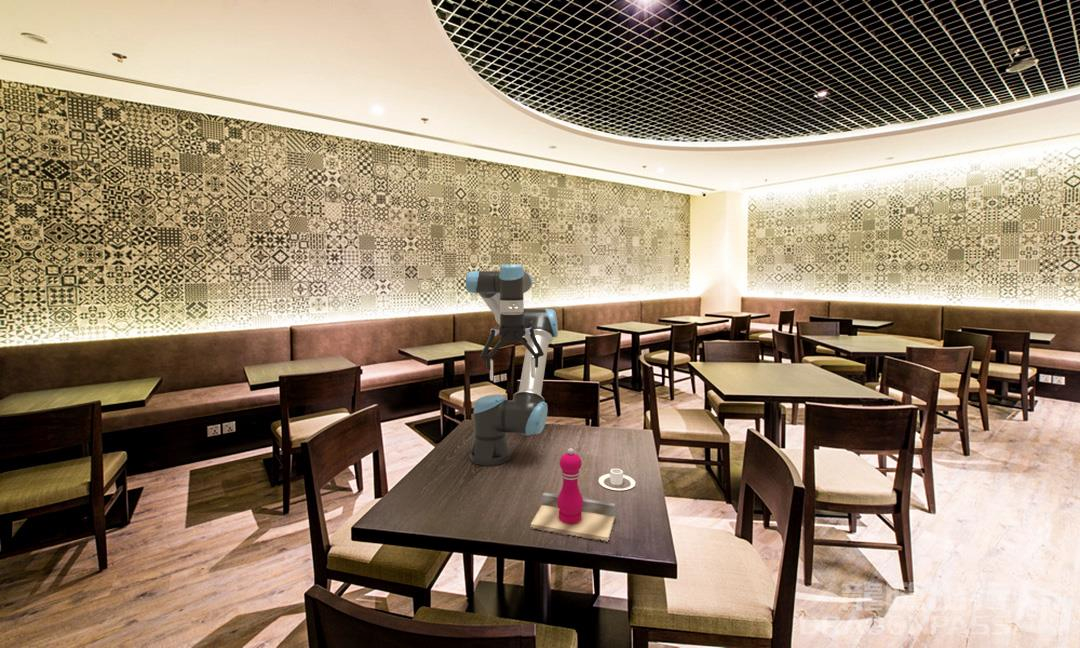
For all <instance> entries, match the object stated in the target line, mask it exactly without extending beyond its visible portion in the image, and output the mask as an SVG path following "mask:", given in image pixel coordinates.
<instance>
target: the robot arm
mask: <svg viewBox="0 0 1080 648" xmlns="http://www.w3.org/2000/svg"><path fill="white" fill-rule="evenodd" d="M532 285H533V278H532V276H531V274H530V273H528V272H527V271H525V270H524V266H523V265H522V264H502V265H501V266H499V270H493V271H492V270H475V271H473V270H472V271H469V272H467V273H466V276H465V288H466V291H467V292H468V293H471V294H478V295H479V296H480V297H481V300H483V301H484V303H485V304H486V306H487V307H488V308H489V309H490V311H491V313H493V315H494V319H495V322H496V323H497V324H498V325H499V329H495V328H490V332H489V336H488V338H487V341H486V343H485V344H484V346H483V348H482V351H481V353H480V354H479V356H480V358H481V359H483V360H485V361H486V362H485V363H486V365H485V366H486V369H487V371H489V379H490V380H489V381H494V360H493V359H492V358H493V357H494V356H495V354H496V353H497V352H498V351H499V350H500V348H501V347H502V346H503V345H504V344H505V342H506V343H507V344H510V343H519V342H520V343H522V345H523V346H524V347H525V353H524V360H523V363H522V364H523V365H522V369H521V370H522V371H521V376H520V381H519V387H518V391H517V392H515V393H514V395H513V397H512V400H508V399H507V397H506V396H505V395H504V394H501V393H499V394H498V393H495V394H489V395H485V396H482V397H479V398H477V399H476V400H475V401H474V403H473V412H472V413H473V432H474V433H473V434H474V439H473V442H472V445H471V449H470V451H469V452H470V453H469V459H470V461H471V462H472V463H473V464H475V465H479V466H484V467H485V466H487V467H491V466H498V465H502V464H504V463H507V462H508V461H510V459H511V456H512V455H511V454H512V453H511V448H510V445H509V443H508V440H507V435H506V434H507V433H508V434H509V433H511V434H518V433H520V434H519V435H522V434H528V435H530V434H532V435H538V434H541V433H542V432H543V430H544V429H545V425H546V422H547V419H548V403H547V402H545V398H544V397H543V396H542V391H543V385H544V383H543V382H544V377H545V372H546V371H545V369H546V365H547V356H548V350H549V349H548V348H549V345H550V344H552V343H553V340H554V338H556V337H558V336H559V327H558V317H557V312H556V311H555V309H552V308H545V307H544V308H525V306H524V303H525V302H524V298H525V297H524V293H528V291H530V289H531V288H532ZM498 334H499V335H500V338H499V340H498V341H497V343H495V344H494V346H493V347H492V348H491V350H490V347H491V346H492V343H493V342H494V339H495V337H497V336H498ZM489 350H490V351H489ZM488 351H489V353H488ZM530 436H531V435H530Z"/></svg>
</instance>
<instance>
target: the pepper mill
mask: <svg viewBox="0 0 1080 648" xmlns="http://www.w3.org/2000/svg"><path fill="white" fill-rule="evenodd" d="M566 451H567V452H566V453H564V454H563V455H561V456H560V458H559V468H560V469H561V471H560V473H561V474H560V475H561V476H560V477H561V478H562V487H561V490H560V492H559V494H557V495H558V499H557V506H558V508H559V509H560V510H559V519H560V520H561V521H562V522H564V523H567V524H574V523H577V522H579V521H580V520H581V509H582V507H583V499H584V498H583V495H582V492H581V490H580V488H579V484H578V482H579V478H580V477H581V476H580V473H581V472H580V470H581V468H582V464H583V463H582V459H581V457H580V456H579V454H577V453H575V450H574V448H572V447H570V448H568V449H567V450H566Z"/></svg>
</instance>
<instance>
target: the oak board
mask: <svg viewBox="0 0 1080 648" xmlns="http://www.w3.org/2000/svg"><path fill="white" fill-rule="evenodd" d="M558 495H559V494H555V493H549V492H542V495H541V506H540V508H539V510H538V511H537V512H536V514H535V515H534V517H533V519H532V521H531V523H530V528H531V527H533V528H539V529H544V530H549V531H555V532H560V533H565V534H571V535H576V536H582V537H588V538H594V539H601V540H606V541H608V540H609V541H610V538H611V535H610V534H611V533H612V531H613V527H614V524H615V521H616V520H615V519H616V503H613V502H608V501H601V500H597V499H596V500H594V499H588V498H583V507H582V509H581V520H580V521H579V522H577V523H574V524H567V523H564V522H562V521H561V520H560V519H559V510H560V509H559V508H558V506H557V499H558ZM613 523H614V524H613ZM611 530H612V531H611ZM609 537H610V538H609Z"/></svg>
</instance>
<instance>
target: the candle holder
mask: <svg viewBox="0 0 1080 648" xmlns="http://www.w3.org/2000/svg"><path fill="white" fill-rule="evenodd" d="M609 470H610V471H609V473H606V474H603V475H601V476H599V478H598V483H599V485H600V486H602V487H603V488H605V489H607V490H612V491H627V490H630V489H633V488H634V487H635V486H636V480H635V479H634V478H633V477H631V476H629V475H626V474H624V470H622V469H620V468H611V469H609ZM608 478H609V481H610V482H609V483H610V484H611V485H613V486H621V485H623V483H624V479H626V480H628V482H629V483H630V485H629V486H627V487H624V488H617V487H616V488H615V487H611V486H608V485H606V484H605V480H606V479H608Z"/></svg>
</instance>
